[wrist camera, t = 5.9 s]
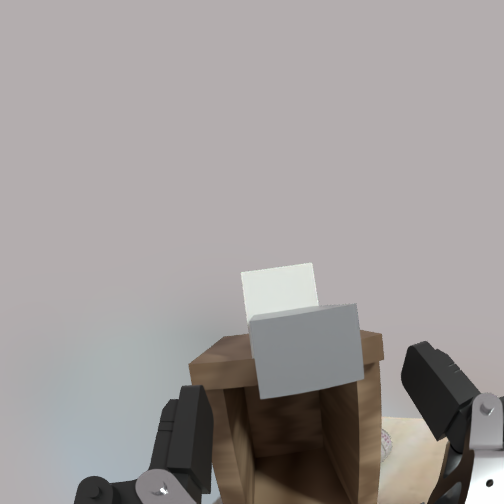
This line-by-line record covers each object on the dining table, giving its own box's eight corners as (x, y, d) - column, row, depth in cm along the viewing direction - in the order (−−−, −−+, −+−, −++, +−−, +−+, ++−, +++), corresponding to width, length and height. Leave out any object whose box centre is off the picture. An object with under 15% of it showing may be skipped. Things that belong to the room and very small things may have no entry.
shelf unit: (334, 491, 32) (321, 322, 38) (368, 565, 11) (381, 333, 18) (253, 503, 32) (224, 336, 38) (250, 586, 11) (188, 364, 18)
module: (299, 332, 30) (291, 279, 31) (375, 375, 9) (354, 224, 10) (254, 339, 30) (247, 286, 31) (246, 400, 9) (225, 241, 10)
